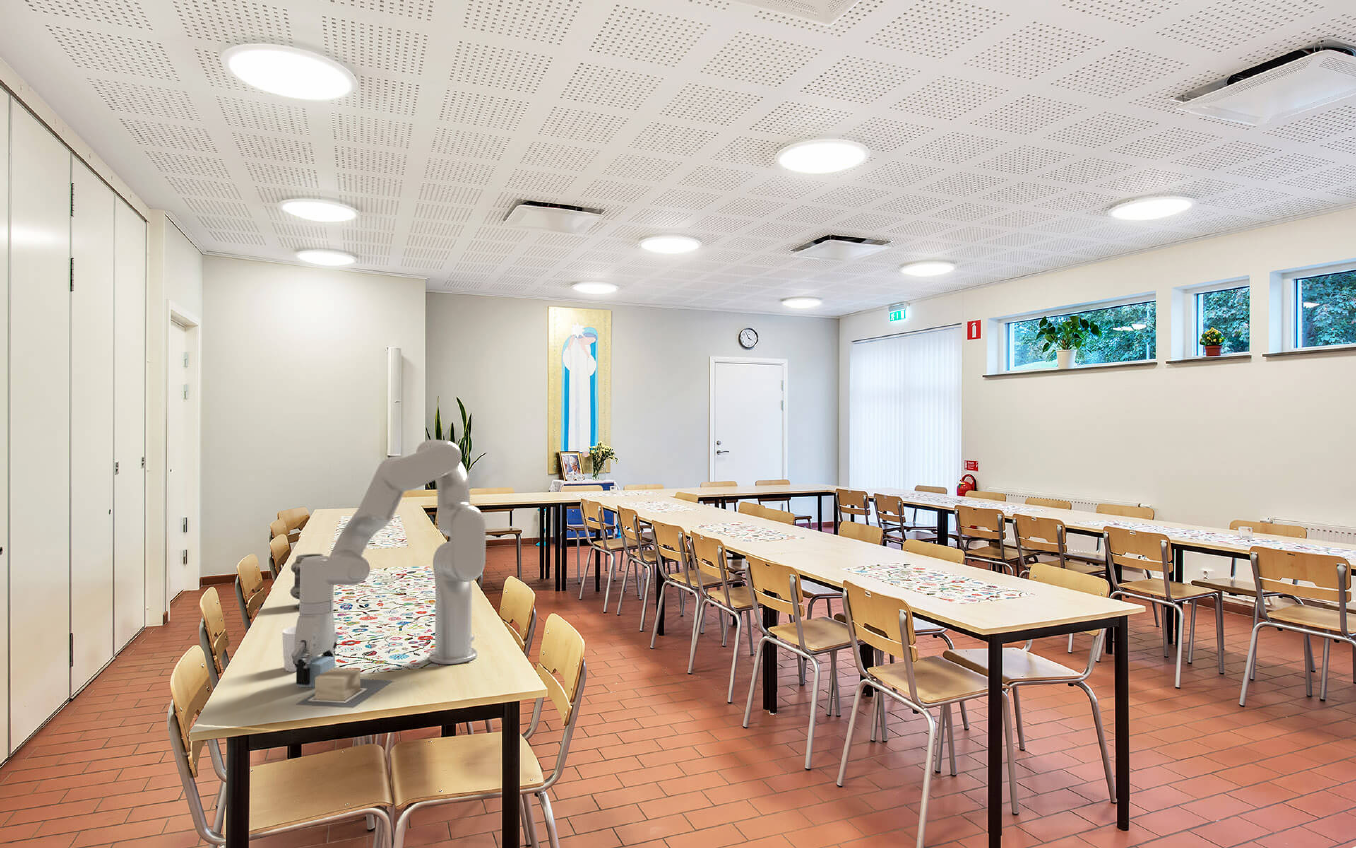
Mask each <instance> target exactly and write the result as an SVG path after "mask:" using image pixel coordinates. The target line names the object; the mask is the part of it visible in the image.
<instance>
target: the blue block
mask: <svg viewBox="0 0 1356 848" xmlns="http://www.w3.org/2000/svg"><path fill="white" fill-rule="evenodd" d="M303 661H304V662H305V661H306V659H305V660H303ZM308 667H309V668H310V684H309V685H298V684H296V685H297V687H301V688H302V687H303V688H315V677H317V676H319V675H321V674H323V673H324V672H326V671H328V670H330V669H332V668H336V656H334V657H324V656H321V655H318V656H316V657H314V658H312V659H311V662H310V664H309V666H308Z"/></svg>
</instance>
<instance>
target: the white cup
mask: <svg viewBox="0 0 1356 848" xmlns="http://www.w3.org/2000/svg"><path fill="white" fill-rule="evenodd" d="M281 632H282V651H283V655H282V657H283V663H284V664H283V665H284V667H283V668H284V671H286V672H290V673H291V672H292V673H293V672H295V673H296V668H295V665H294V664H293V659H292V656H291V654H292V652H293V651H294V643H295V632H296V626H292V627H287V628H285V629H283V630H282V631H281ZM306 655H309V654H306ZM303 660H305V659H303Z"/></svg>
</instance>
